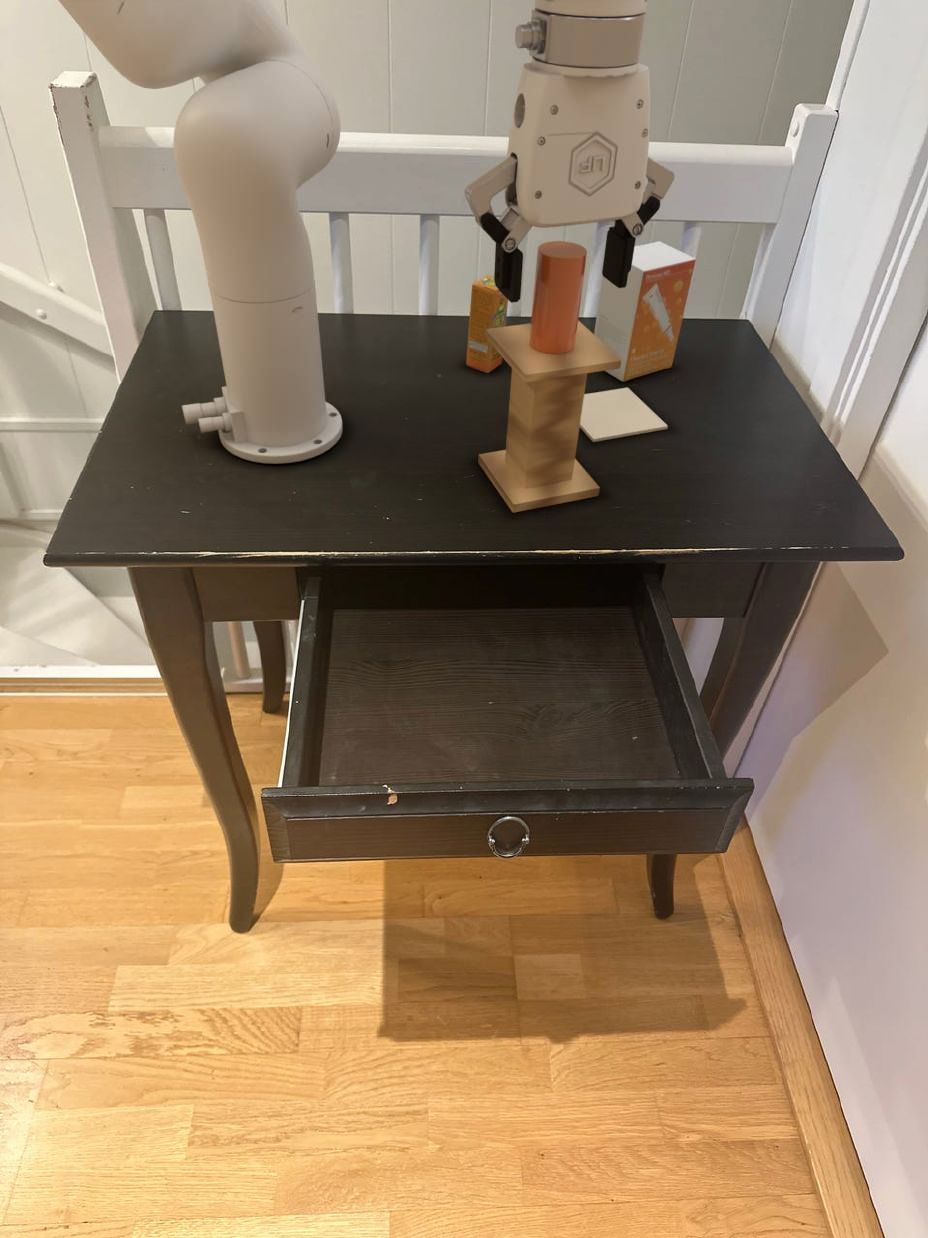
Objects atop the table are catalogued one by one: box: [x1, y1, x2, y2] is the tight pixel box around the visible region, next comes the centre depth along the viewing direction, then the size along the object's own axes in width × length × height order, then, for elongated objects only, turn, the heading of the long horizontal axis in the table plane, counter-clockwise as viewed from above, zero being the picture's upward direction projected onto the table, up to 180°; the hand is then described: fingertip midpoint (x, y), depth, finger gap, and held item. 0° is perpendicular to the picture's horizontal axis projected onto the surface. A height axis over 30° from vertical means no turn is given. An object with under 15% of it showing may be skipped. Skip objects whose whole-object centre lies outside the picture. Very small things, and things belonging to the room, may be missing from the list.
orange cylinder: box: [529, 240, 588, 354], centre depth 70 cm, size 4×4×8 cm
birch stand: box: [477, 319, 621, 514], centre depth 78 cm, size 9×9×14 cm
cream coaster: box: [579, 387, 669, 443], centre depth 92 cm, size 9×9×1 cm
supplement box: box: [465, 274, 509, 374], centre depth 97 cm, size 3×3×10 cm
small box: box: [593, 240, 697, 383], centre depth 97 cm, size 8×6×13 cm
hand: (562, 288), depth 70 cm, fingers open, 9 cm apart
